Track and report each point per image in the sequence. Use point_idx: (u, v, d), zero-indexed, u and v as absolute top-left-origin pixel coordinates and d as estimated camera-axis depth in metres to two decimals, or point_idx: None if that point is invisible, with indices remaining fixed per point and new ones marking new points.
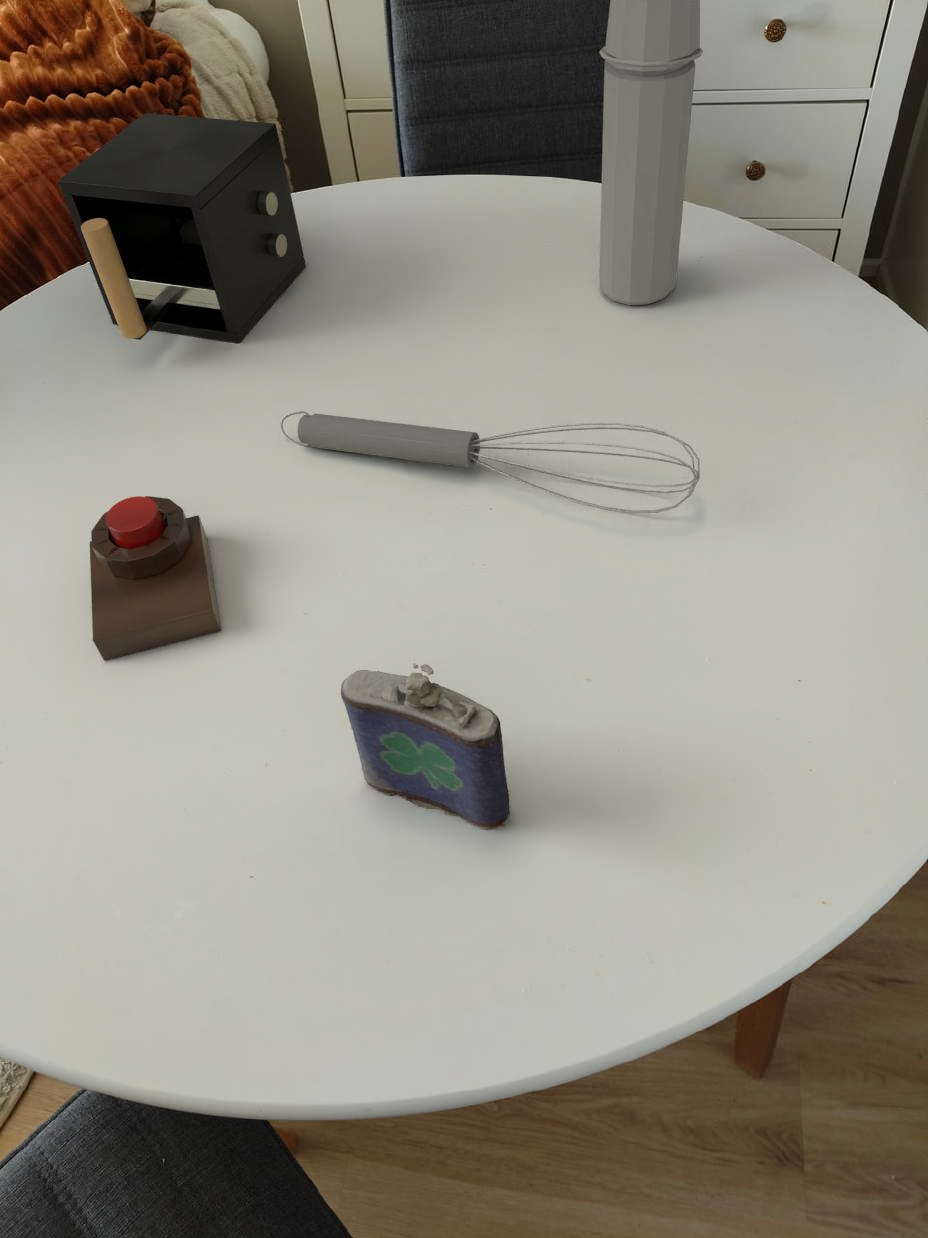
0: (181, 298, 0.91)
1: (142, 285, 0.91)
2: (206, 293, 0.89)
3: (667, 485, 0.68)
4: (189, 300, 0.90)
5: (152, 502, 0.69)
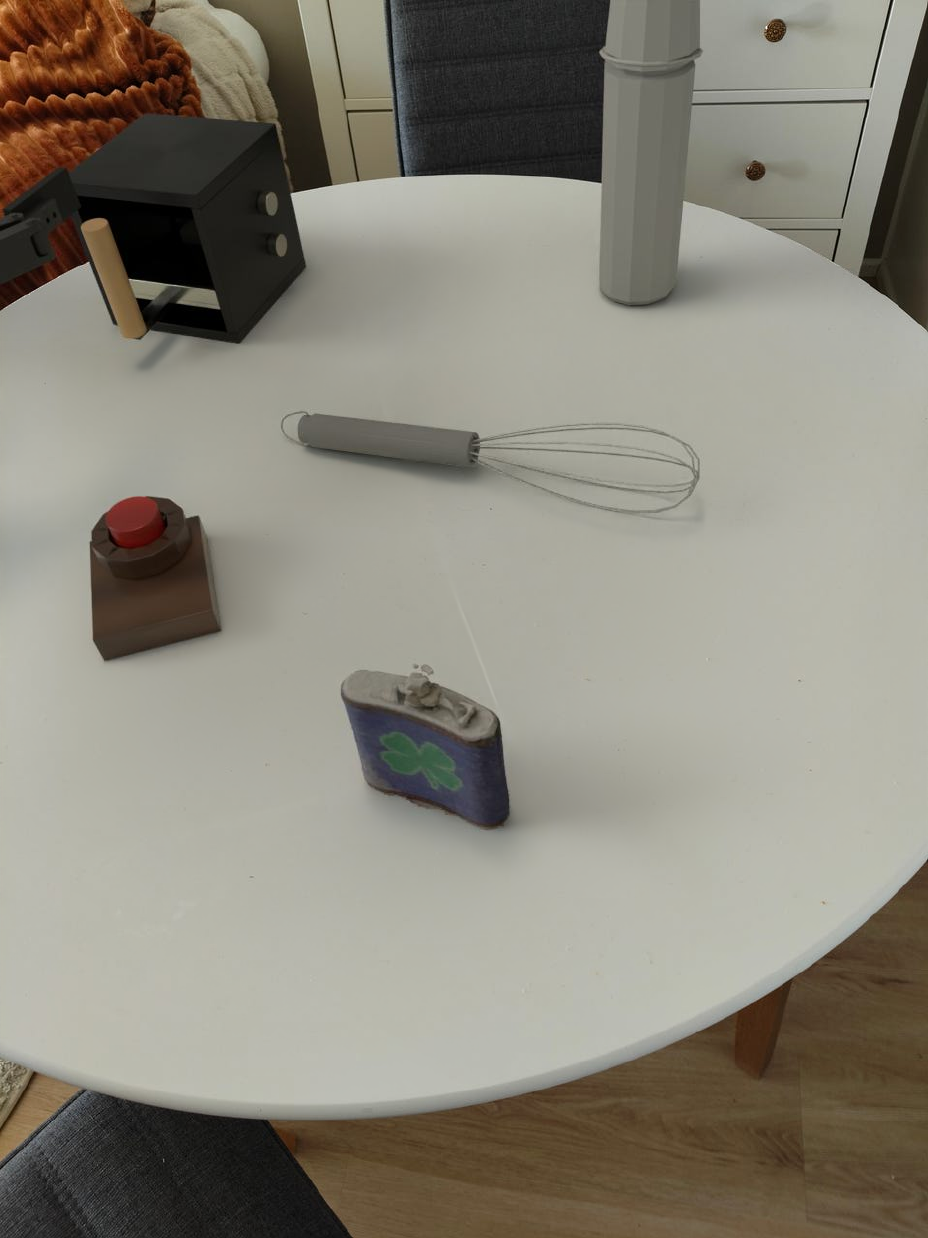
0: (181, 298, 0.91)
1: (142, 285, 0.91)
2: (206, 293, 0.89)
3: (667, 485, 0.68)
4: (189, 300, 0.90)
5: (152, 502, 0.69)
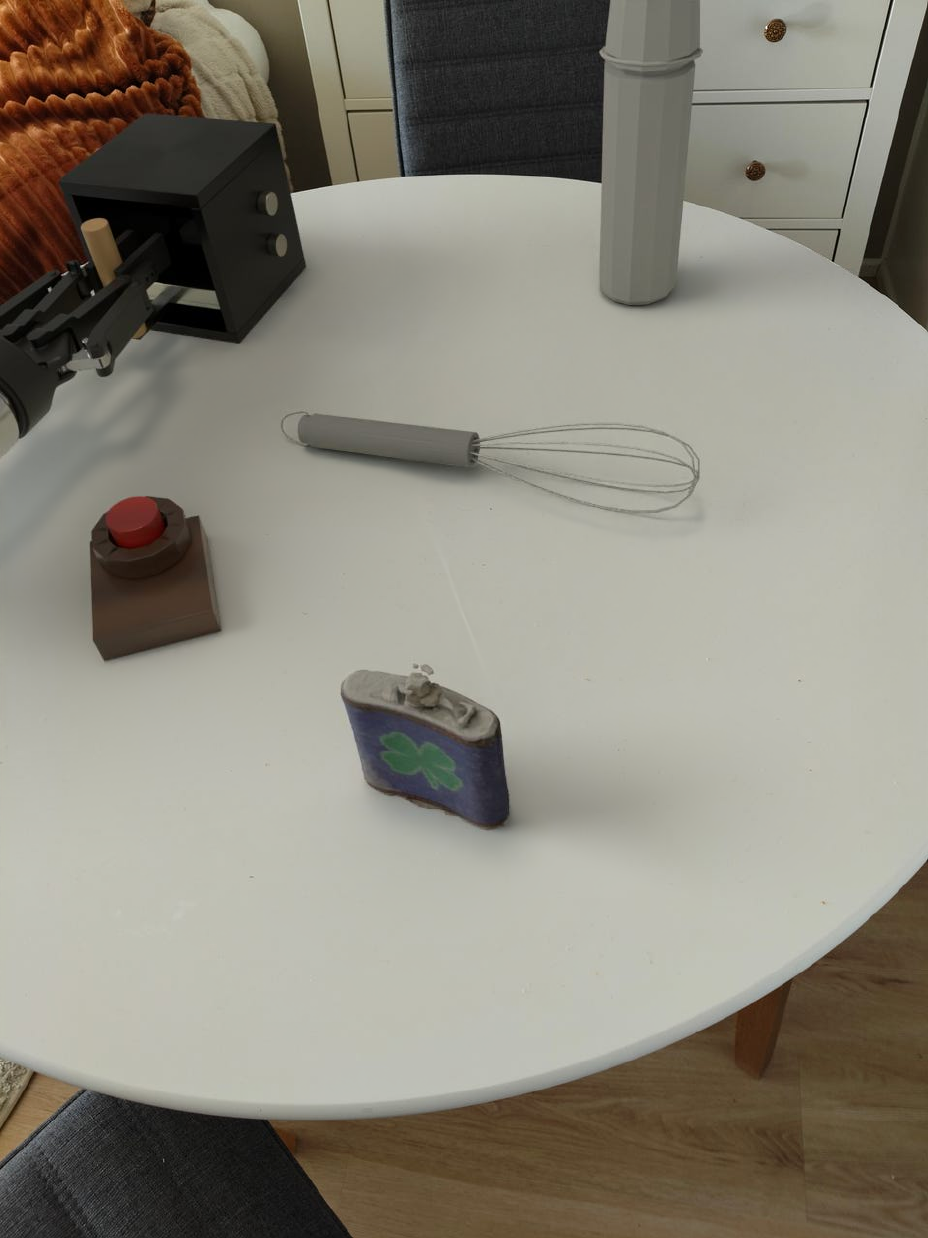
0: (181, 298, 0.91)
1: None
2: (206, 293, 0.89)
3: (667, 485, 0.68)
4: (189, 300, 0.90)
5: (152, 502, 0.69)
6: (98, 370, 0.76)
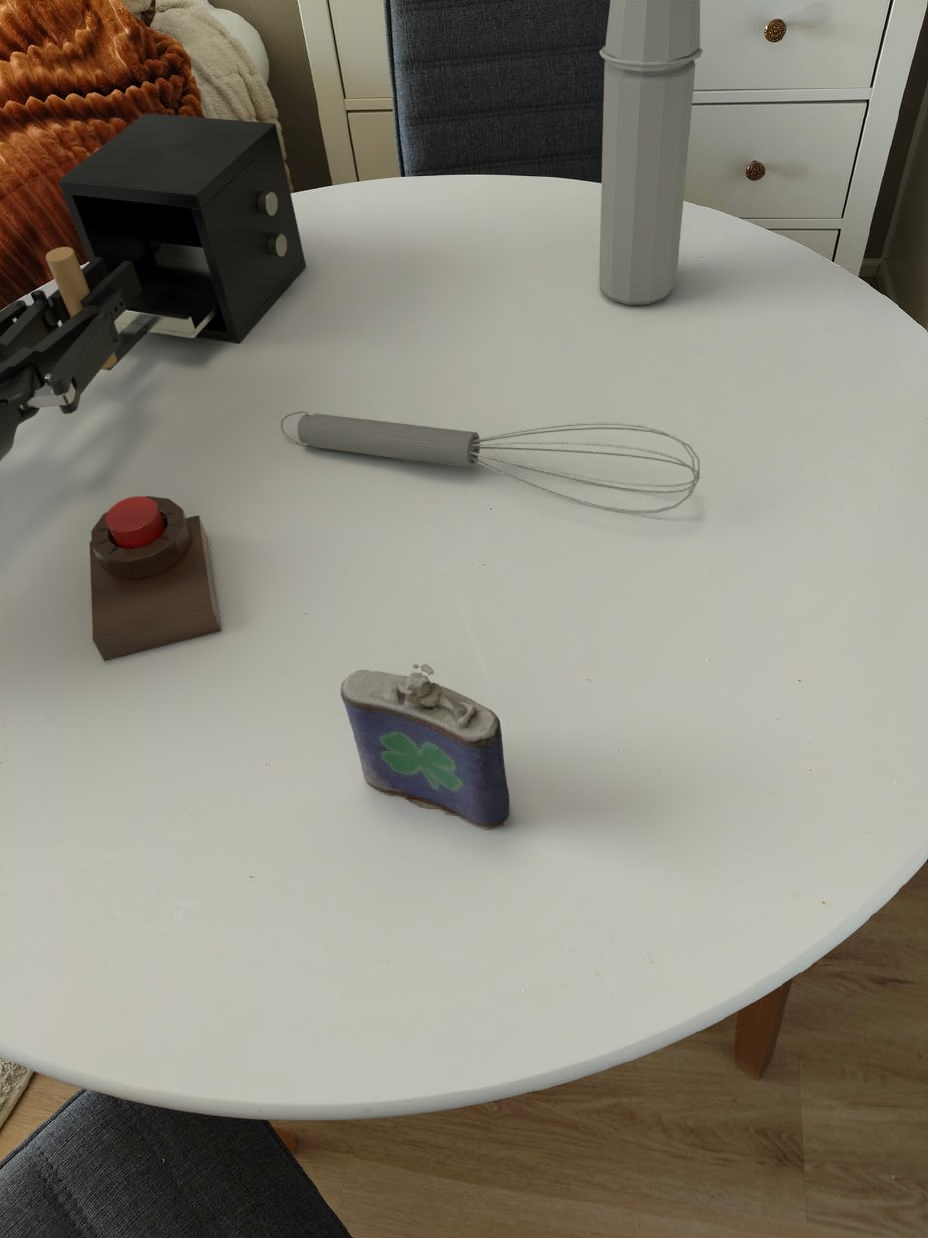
0: (153, 326, 0.88)
1: None
2: (178, 322, 0.86)
3: (667, 485, 0.68)
4: (161, 328, 0.88)
5: (152, 502, 0.69)
6: (62, 407, 0.73)
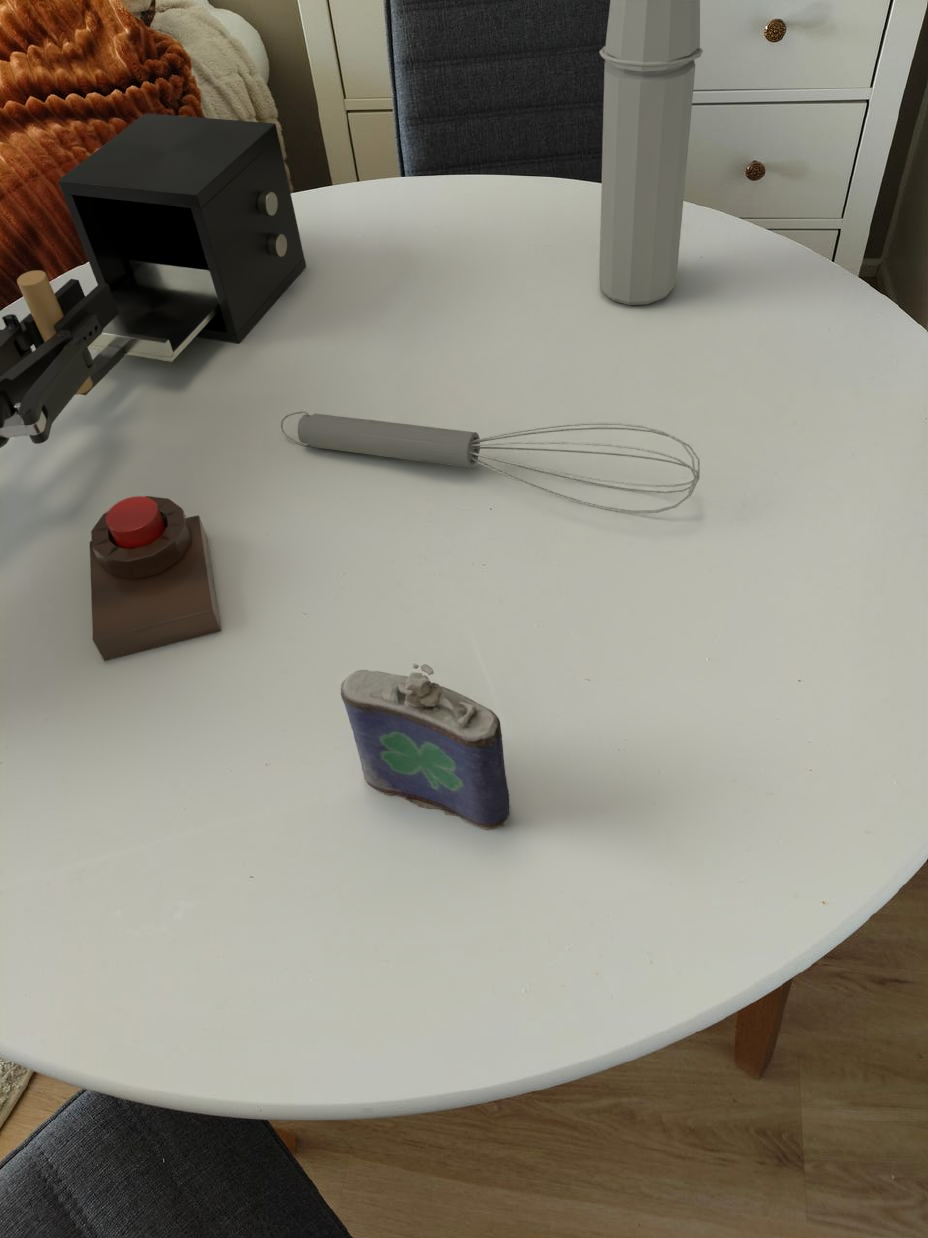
0: (131, 349, 0.86)
1: None
2: (156, 345, 0.84)
3: (667, 485, 0.68)
4: (139, 351, 0.85)
5: (152, 502, 0.69)
6: (32, 437, 0.71)
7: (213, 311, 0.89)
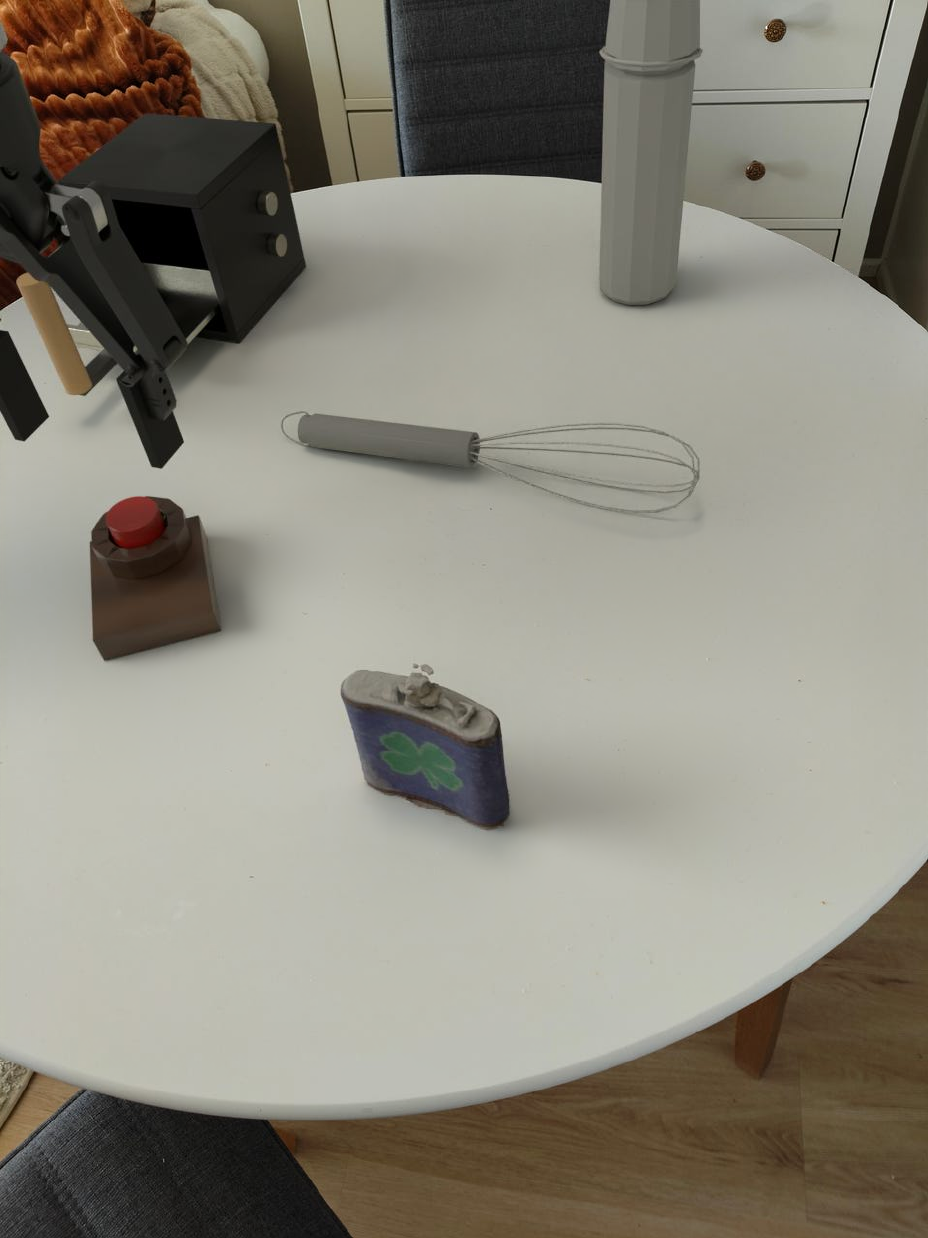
0: None
1: (89, 336, 0.86)
2: None
3: (667, 485, 0.68)
4: None
5: (152, 502, 0.69)
6: (71, 197, 0.49)
7: (213, 311, 0.89)
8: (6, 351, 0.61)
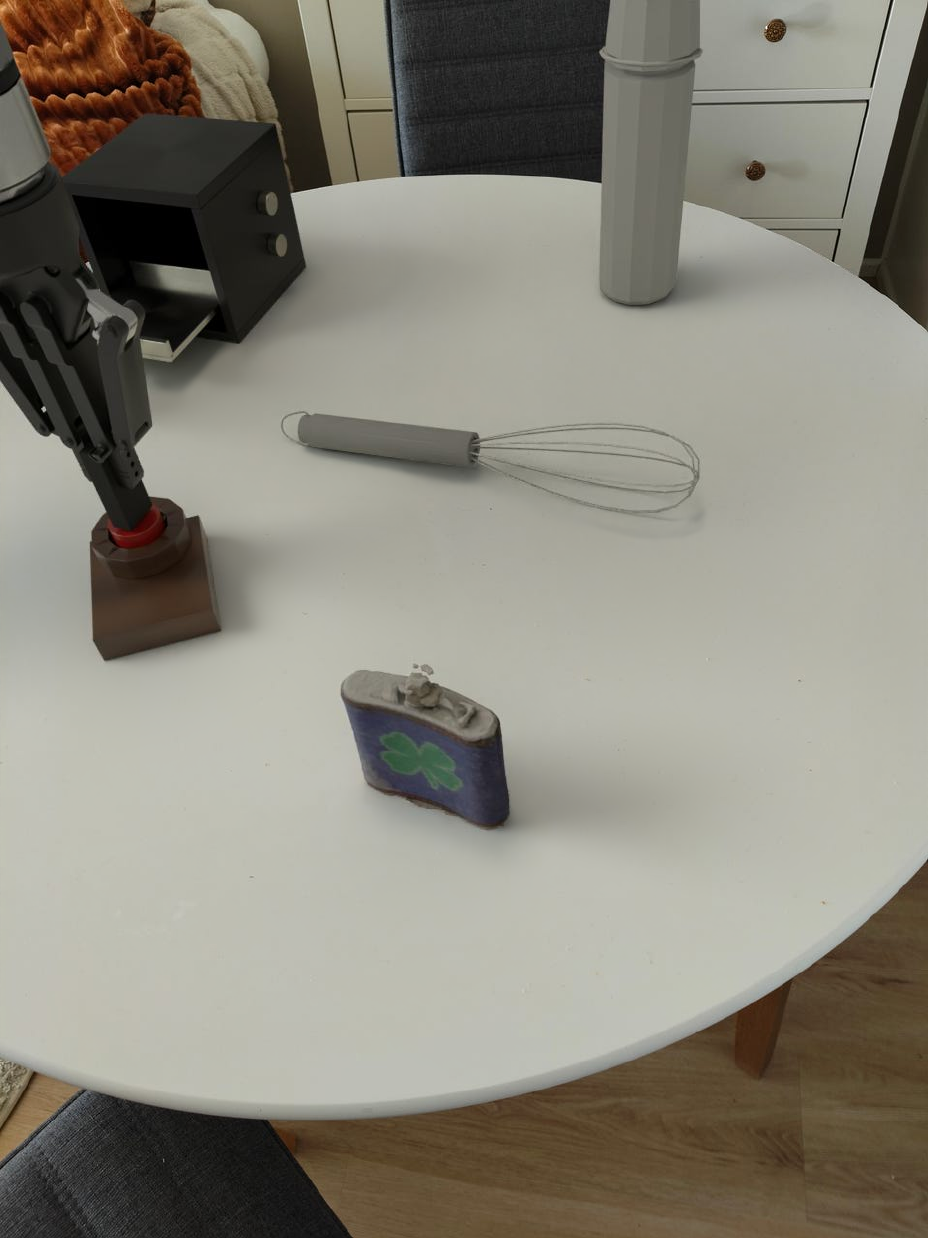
0: None
1: None
2: (155, 345, 0.84)
3: (667, 485, 0.68)
4: None
5: (154, 507, 0.70)
6: (115, 317, 0.54)
7: (213, 311, 0.89)
8: None
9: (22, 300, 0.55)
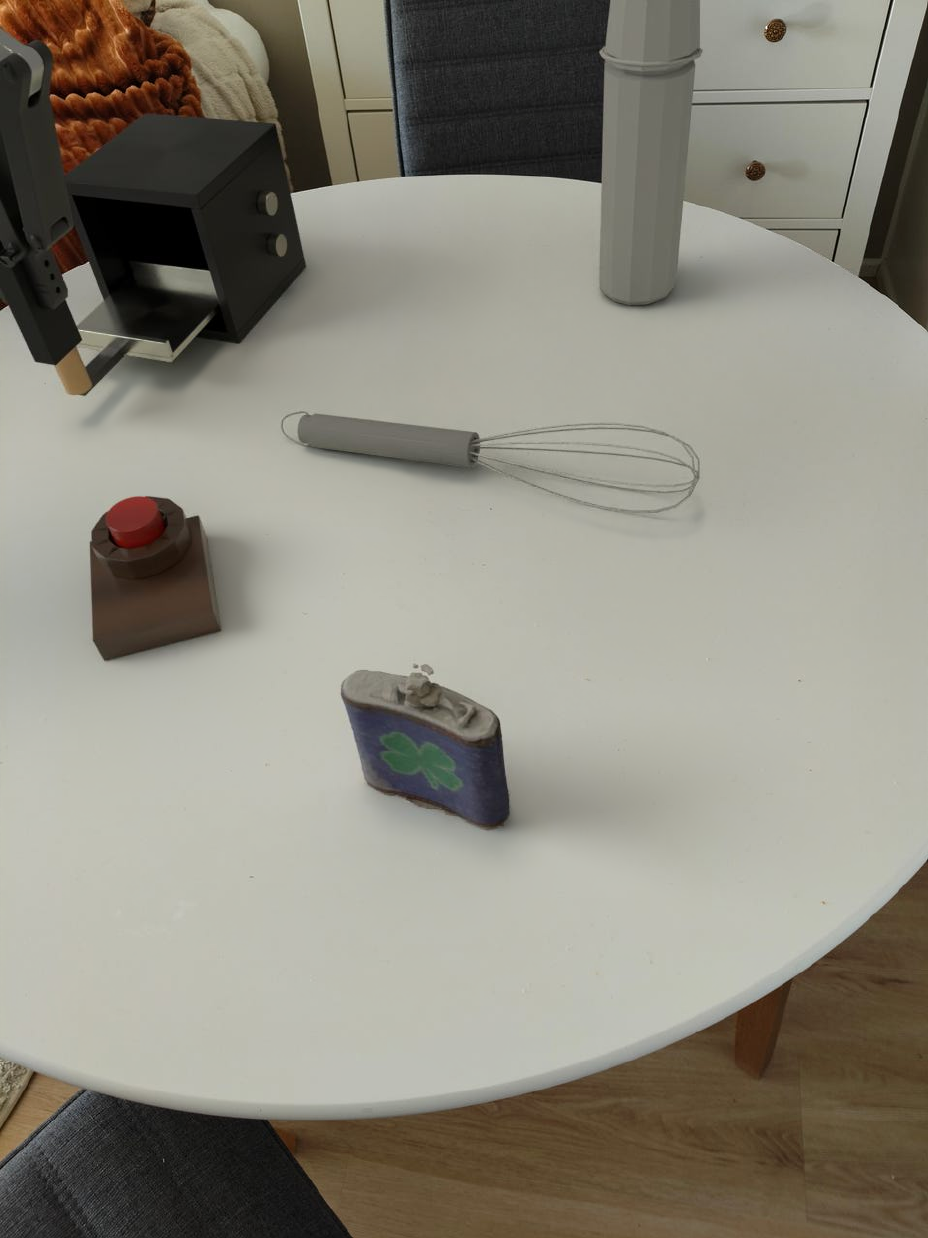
0: (130, 350, 0.86)
1: (89, 336, 0.86)
2: (155, 345, 0.84)
3: (667, 485, 0.68)
4: (139, 352, 0.85)
5: (152, 502, 0.69)
6: (13, 54, 0.44)
7: (213, 311, 0.89)
8: None
9: None
